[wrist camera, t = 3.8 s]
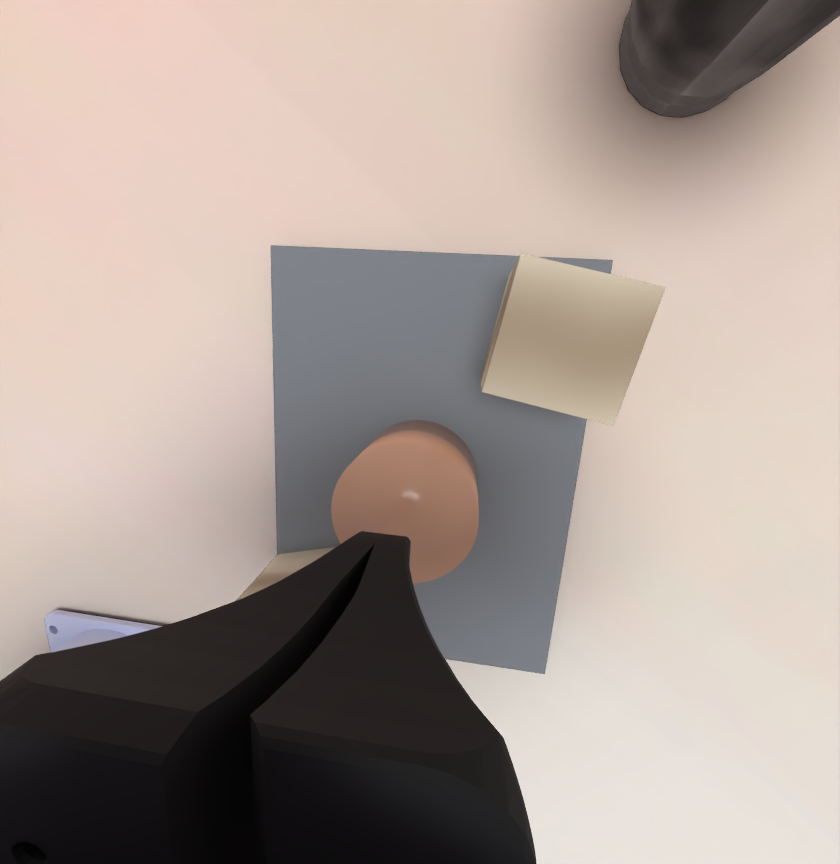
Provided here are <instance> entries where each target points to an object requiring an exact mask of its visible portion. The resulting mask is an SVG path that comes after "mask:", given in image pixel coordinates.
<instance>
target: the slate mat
mask: <svg viewBox="0 0 840 864" xmlns="http://www.w3.org/2000/svg"><path fill="white" fill-rule="evenodd" d="M519 257H520V256H506V255H482V254H459V253H436V252H413V251H389V250H366V249H343V248H320V247H297V246H273V245H271V286H272V333H273V380H274V427H275V474H276V521H277V555H278V554H283V553H292V552H300V551H308V550H316V549H324V548H332V547H337V546H339V545H340V542H339V540H338V538H337V536H336V533H335V530H334V527H333V522H332V515H331V504H332V497H333V492H334V489H335V487H336V484H337V482H338V480H339V478H340V476H341V475H342V473H343V472H344V471H345V469H346V468H347V467H348V466H349V465H350V464H351V463H352V462H353V461H354V460H355V459H356V458H357V457H358V456H359V455H360V454H361V453H362V452H363V450H364V449H365V448H366V447H367V446H368V445H369V444H370V443H371V442H372V441H373V440H374V439H375V438H376V437H377V436H378V435H379V434H380V433H382V432H383V431H384V430H386V429H387V428H389V427H391V426H393V425H395V424H398V423H401V422H405V421H411V420H424V421H430V422H434V423H437V424H440V425H442V426H444V427H446V428H448V429H450V430H451V431H453V432H454V433H455V434H457V435H458V436H459V437H460V438H461V439H462V440H463V441H464V443H465V444H466V445H467V447H468V448H469V450H470V452H471V453H472V455H473V458H474V460H475V464H476V468H477V480H478V507H479V525H478V531H477V536H476V539H475V542H474V544H473V546H472V548H471V550H470V552H469V553H468V555H467V556H466V558H465V559H464V560H463V561H462V562H461V563H460V564H459V565H458V566H457V567H456V568H454V569H453V570H452V571H450V572H449V573H447V574H445V575H444V576H441V577H439V578H437V579H434V580H431V581H427V582H422V583H413V586H414V590H415V593H416V596H417V600H418V603H419V606H420V608H421V611H422V614H423V616H424V619H425V621H426V623H427V626H428V628H429V630H430V632H431V634H432V636H433V638H434V640H435V642H436V645H437V646H438V648H439V650H440V652H441V653H442V655H443V657H444V658H445V659H450V660H456V661H463V662H469V663H476V664H483V665H489V666H496V667H502V668H509V669H515V670H522V671H528V672H535V673H541V674H545V669H546V663H547V657H548V651H549V645H550V639H551V633H552V627H553V621H554V615H555V609H556V603H557V596H558V590H559V584H560V578H561V572H562V566H563V560H564V554H565V548H566V542H567V536H568V530H569V524H570V517H571V511H572V505H573V499H574V493H575V487H576V481H577V475H578V469H579V463H580V457H581V451H582V445H583V438H584V432H585V426H586V420H587V419H585V418H581V417H577V416H573V415H569V414H565V413H561V412H557V411H554V410H550V409H546V408H542V407H538V406H534V405H530V404H527V403H523V402H519V401H515V400H511V399H507V398H503V397H499V396H496V395H492V394H488V393H484V392H482V389H481V383H480V377H481V373H482V369H483V366H484V362H485V359H486V355H487V352H488V348H489V344H490V341H491V337H492V334H493V330H494V327H495V323H496V319H497V316H498V312H499V309H500V305H501V302H502V298H503V294H504V291H505V287H506V284H507V280H508V277H509V274H510V272H511V271H512V269H513V267H514V265H515V264H516V262H517V260H518V258H519ZM539 258H543V259H548V260H552V261H556V262H561V263H565V264H569V265H573V266H578V267H582V268H586V269H591V270H595V271H599V272H603V273H608V274H611V268H612V262H613V260H598V259H575V258H552V257H539Z"/></svg>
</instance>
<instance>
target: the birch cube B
mask: <svg viewBox="0 0 840 864" xmlns="http://www.w3.org/2000/svg"><path fill="white" fill-rule="evenodd" d="M665 288H666V287H663V286H659V285H655V284H651V283H646V282H642V281H638V280H633V279H629V278H625V277H621V276H616V275H612V274H608V273H603V272H599V271H595V270H591V269H586V268H582V267H578V266H573V265H569V264H565V263H561V262H556V261H552V260H548V259H543V258H539V257H535V256H531V255H526V254H522V253H521V255H520V257H519V258H518V260H517V262H516V264H515V265H514V267H513V269H512V271H511V272H510V274H509V277H508V280H507V284H506V287H505V291H504V294H503V298H502V302H501V305H500V309H499V312H498V316H497V319H496V323H495V327H494V330H493V334H492V337H491V341H490V344H489V348H488V352H487V355H486V359H485V362H484V366H483V369H482V373H481V377H480V383H481V389H482V392H484V393H488V394H492V395H496V396H499V397H503V398H507V399H511V400H515V401H519V402H523V403H527V404H530V405H534V406H538V407H542V408H546V409H550V410H554V411H557V412H561V413H565V414H569V415H573V416H577V417H581V418H585V419H588V420H592V421H596V422H600V423H604V424H608V425H612V426H614V423H615V421H616V418H617V415H618V413H619V410H620V407H621V405H622V402H623V399H624V397H625V394H626V391H627V389H628V386H629V383H630V381H631V378H632V375H633V373H634V370H635V367H636V365H637V362H638V360H639V357H640V354H641V352H642V349H643V346H644V344H645V341H646V338H647V336H648V333H649V330H650V328H651V325H652V322H653V320H654V317H655V314H656V312H657V309H658V306H659V304H660V301H661V298H662V296H663V293H664V290H665Z"/></svg>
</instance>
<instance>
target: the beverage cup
mask: <svg viewBox="0 0 840 864" xmlns="http://www.w3.org/2000/svg"><path fill="white" fill-rule="evenodd" d="M838 16H840V0H632V3H631V7H630V11H629V13H628V15H627V17H626V19H625V22H624V26H623V31H622V35H621V40H620V44H619V52H620V70H621V72H622V75H623V78H624V80H625V83H626V85H627V88H628V91H629V92H630V93H631V94H632V95H633V96H634V97H635V98H636V100H637V101H638V102H639V103H640V104H641V105H642V106H643V107H645V108H647V109H649V110H651V111H653V112H655V113H657V114H659V115H663V116H673V117H685V116H689V115H694V114H698V113H702V112H705V111H707V110H708V109H710V108H712V107H714V106H715V105H717V104H719V103H720V102H722V101H724V100H726V99H727V98H728V97H729V96H730V95H731V94H732V93H733V92H734V91H736V90H738V89H739V88H741V87H742V86H744V85H745V84H747V83H749V82H750V81H752V80H754V79H756V78H757V77H759V76H761V75H762V74H763V73H765V72H766V71H767V70H769V69H770V68H771V67H773V66H774V65H775V64H777V63H778V62H779V61H780V60H782V59H783V58H784V57H786V56H787V55H788V54H790V53H791V52H792V51H794V50H795V49H796V48H798V47H799V46H800V45H801V44H803V43H804V42H805V41H807V40H808V39H809V38H811V37H812V36H813V35H815V34H816V33H817V32H819V31H820V30H821V29H822V28H824V27H825V26H826V25H828V24H829V23H830V22H832V21H833V20H834V19H836V18H837V17H838Z"/></svg>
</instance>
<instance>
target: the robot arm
mask: <svg viewBox="0 0 840 864" xmlns="http://www.w3.org/2000/svg"><path fill="white" fill-rule="evenodd" d="M410 547H411V541H410V540H409V538H408V537H406V536H398V535H390V534H382V533H373V532H365V531H361V532H359V533H357V534H355V535H354V536H352V537H351V538H349V539H348V540H346V541H345V542H343V543H342V544H340V545H339V546H337V547H336V548H334V549H333V550H331V551H329V552H328V553H326V554H325V555H323V556H322V557H320V558H318V559H317V560H315V561H314V562H312V563H310V564H309V565H307V566H305V567H303V568H302V569H300V570H298V571H296V572H294V573H293V574H291V575H289V576H287V577H286V578H284V579H282V580H280V581H278V582H276V583H274V584H272V585H270V586H268V587H266V588H264V589H262V590H260V591H258V592H255V593H253V594H251V595H249V596H246V597H244V598H242V599H240V600H237V601H235V602H232V603H229V604H227V605H224V606H221V607H219V608H216V609H213V610H210V611H208V612H205V613H202V614H199V615H197V616H194V617H191V618H188V619H185V620H182V621H179V622H175V623H172V624H169V625H165V626H157V625H151V624H145V623H138V622H132V621H125V620H119V619H113V618H106V617H100V616H93V615H87V614H81V613H74V612H68V611H61V610H53V611H52V612H50V613H48V614H47V615H46V616H45V625H46V630H47V636H48V641H49V647H50V653H46V654H40V655H36V656H34V657H33V658H31V659H30V660H29V661H27V662H26V663H25V664H23V665H22V666H20V667H19V668H18V669H16V670H15V671H14V672H12V673H11V674H9V675H8V676H7V677H5V678H4V679H3V680H1V681H0V864H536V856H535V849H534V843H533V838H532V833H531V829H530V824H529V820H528V816H527V812H526V808H525V804H524V800H523V796H522V793H521V789H520V786H519V783H518V779H517V776H516V773H515V770H514V767H513V764H512V761H511V758H510V755H509V752H508V749H507V746H506V744H505V741H504V738H503V737H502V736H501V734H500V733H499V732H498V731H497V730H496V729H495V727H494V726H493V725H492V724H491V723H490V722H489V720H488V719H487V718H486V717H485V716H484V715H483V713H482V712H481V711H480V710H479V708H478V707H477V706H476V705H475V703H474V702H473V701H472V699H471V698H470V697H469V695H468V694H467V692H466V691H465V690H464V688H463V687H462V685H461V684H460V683H459V681H458V680H457V678H456V677H455V675H454V673H453V672H452V670H451V668H450V667H449V665H448V663H447V662H446V660H445V658H444V657H443V655H442V653H441V652H440V650H439V648H438V646H437V645H436V642H435V640H434V638H433V636H432V634H431V632H430V630H429V628H428V626H427V623H426V621H425V619H424V616H423V614H422V611H421V608H420V606H419V603H418V600H417V596H416V593H415V590H414V586H413V582H412V577H411V572H410V567H409V563H410Z"/></svg>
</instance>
